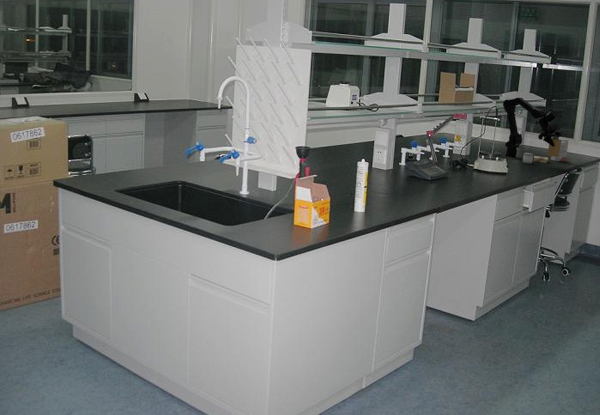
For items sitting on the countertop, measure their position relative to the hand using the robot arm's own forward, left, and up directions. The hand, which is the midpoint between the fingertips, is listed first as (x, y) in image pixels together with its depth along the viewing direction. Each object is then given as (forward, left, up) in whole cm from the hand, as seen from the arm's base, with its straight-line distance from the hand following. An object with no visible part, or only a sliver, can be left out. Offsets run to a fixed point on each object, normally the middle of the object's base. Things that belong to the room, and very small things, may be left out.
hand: (556, 146), depth 451 cm
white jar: (-16, +2, -13) cm, 21 cm away
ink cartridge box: (+3, +32, -14) cm, 35 cm away
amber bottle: (-1, +1, -7) cm, 7 cm away
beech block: (-8, +15, -14) cm, 22 cm away
